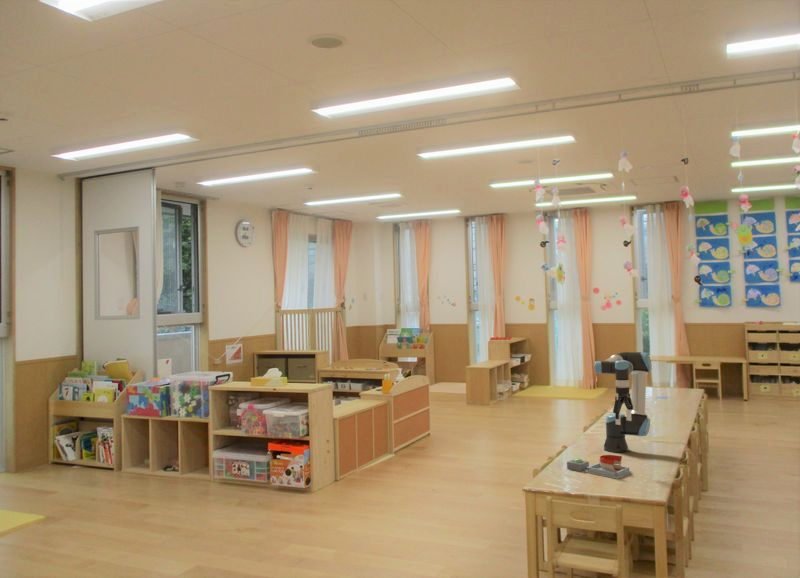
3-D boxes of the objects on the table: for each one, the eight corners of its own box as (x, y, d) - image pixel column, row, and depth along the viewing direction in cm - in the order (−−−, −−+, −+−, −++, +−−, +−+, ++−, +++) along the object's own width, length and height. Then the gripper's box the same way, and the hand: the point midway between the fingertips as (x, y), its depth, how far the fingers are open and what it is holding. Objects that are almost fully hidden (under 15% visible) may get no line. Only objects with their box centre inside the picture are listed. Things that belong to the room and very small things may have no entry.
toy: (604, 467, 366) (604, 453, 366) (622, 470, 360) (622, 456, 360) (596, 472, 357) (595, 458, 357) (614, 475, 350) (613, 460, 350)
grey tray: (598, 466, 372) (598, 461, 372) (631, 473, 357) (631, 467, 357) (585, 472, 360) (584, 467, 360) (618, 479, 346) (617, 473, 346)
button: (576, 465, 371) (576, 458, 372) (583, 466, 368) (582, 459, 369) (572, 467, 369) (572, 459, 369) (579, 468, 366) (579, 460, 366)
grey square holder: (575, 465, 375) (575, 459, 375) (589, 468, 368) (588, 461, 368) (567, 468, 369) (567, 461, 369) (581, 471, 362) (580, 464, 362)
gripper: (626, 383, 385) (627, 418, 385) (606, 389, 368) (607, 425, 368) (638, 384, 380) (639, 419, 380) (618, 390, 362) (619, 427, 362)
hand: (623, 422), depth 374 cm, fingers open, 13 cm apart
